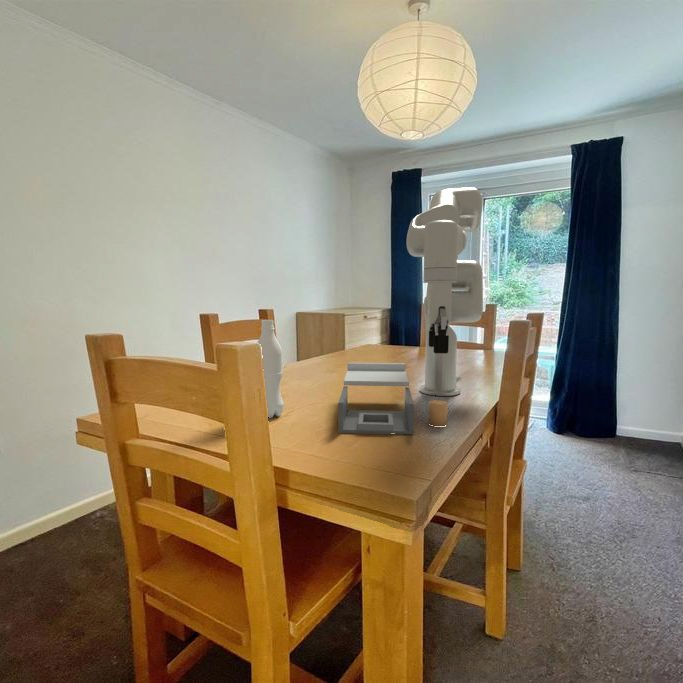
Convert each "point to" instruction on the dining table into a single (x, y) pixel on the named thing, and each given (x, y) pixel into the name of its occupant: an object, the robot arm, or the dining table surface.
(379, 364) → the lid
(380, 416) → the housing
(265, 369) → the water bottle
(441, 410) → the tan egg-shaped pebble
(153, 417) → the dining table surface
